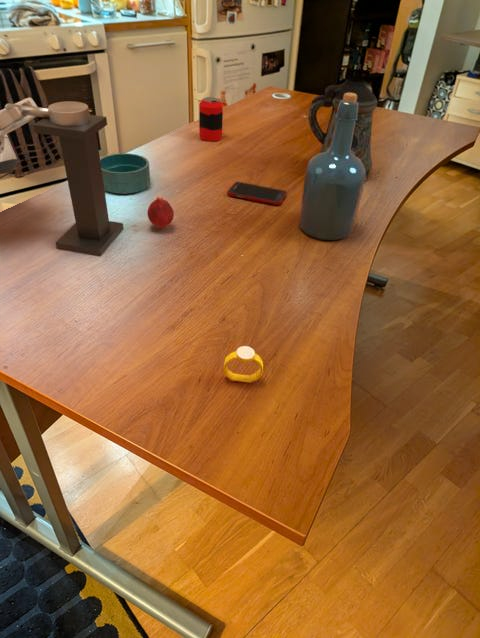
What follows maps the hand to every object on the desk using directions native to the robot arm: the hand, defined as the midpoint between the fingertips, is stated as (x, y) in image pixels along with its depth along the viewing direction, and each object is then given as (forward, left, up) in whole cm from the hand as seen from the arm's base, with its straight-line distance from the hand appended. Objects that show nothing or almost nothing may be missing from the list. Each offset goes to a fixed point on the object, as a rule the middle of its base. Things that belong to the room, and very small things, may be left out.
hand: (25, 107), depth 86 cm
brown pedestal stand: (+9, 0, -26) cm, 28 cm away
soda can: (+17, +71, -26) cm, 78 cm away
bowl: (+5, +28, -26) cm, 39 cm away
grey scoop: (+4, 0, -1) cm, 4 cm away
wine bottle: (+59, +21, -26) cm, 68 cm away
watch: (+50, -32, -26) cm, 65 cm away
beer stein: (+60, +56, -26) cm, 86 cm away
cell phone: (+40, +33, -26) cm, 58 cm away
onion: (+22, +9, -26) cm, 35 cm away
